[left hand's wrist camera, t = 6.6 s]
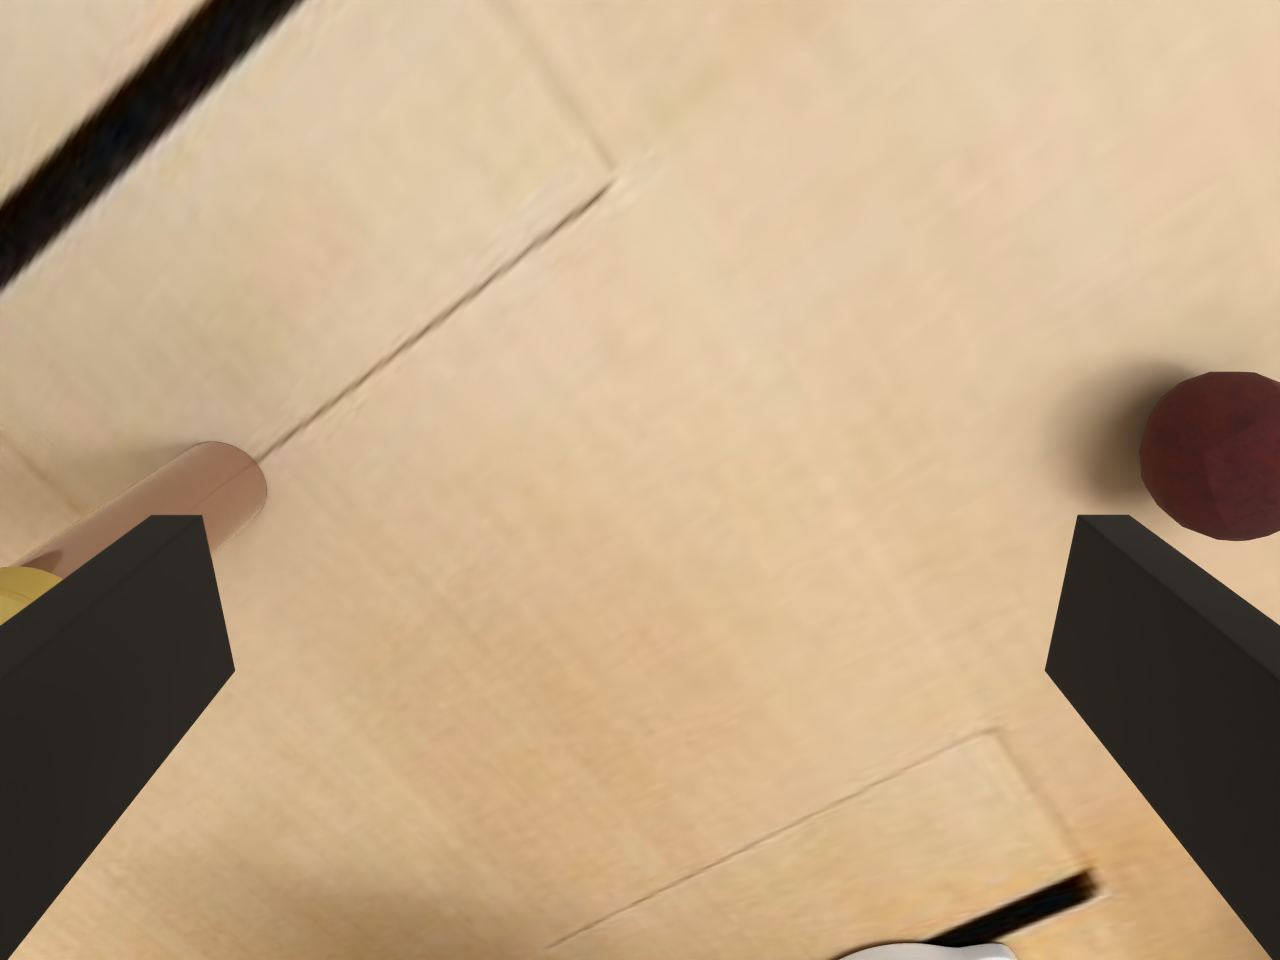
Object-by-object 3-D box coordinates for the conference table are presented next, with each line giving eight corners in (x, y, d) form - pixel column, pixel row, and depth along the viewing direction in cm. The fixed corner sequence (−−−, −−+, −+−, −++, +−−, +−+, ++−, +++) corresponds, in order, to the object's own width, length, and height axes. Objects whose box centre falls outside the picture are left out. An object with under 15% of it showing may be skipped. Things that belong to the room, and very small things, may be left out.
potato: (1142, 526, 43) (1233, 593, 36) (1083, 406, 40) (1169, 455, 34) (1282, 452, 41) (1404, 508, 35) (1230, 323, 39) (1350, 356, 32)
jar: (170, 509, 43) (-67, 686, 28) (182, 429, 41) (-62, 574, 27) (258, 536, 43) (70, 723, 29) (274, 458, 42) (84, 616, 27)
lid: (-43, 666, 30) (-85, 698, 28) (-35, 546, 28) (-80, 572, 26) (102, 705, 30) (68, 739, 29) (117, 590, 29) (83, 619, 27)
